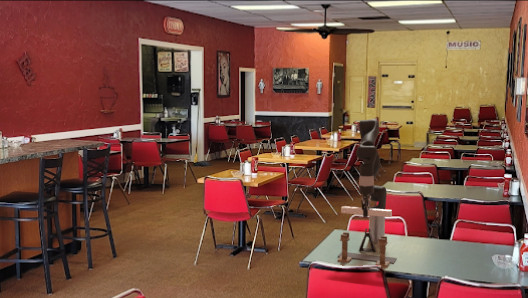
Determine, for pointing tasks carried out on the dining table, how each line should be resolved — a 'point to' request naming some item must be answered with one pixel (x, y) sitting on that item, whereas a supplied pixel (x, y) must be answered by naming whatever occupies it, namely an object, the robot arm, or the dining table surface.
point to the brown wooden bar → (370, 211)
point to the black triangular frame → (370, 243)
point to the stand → (346, 259)
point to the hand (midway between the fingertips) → (366, 216)
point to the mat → (368, 257)
